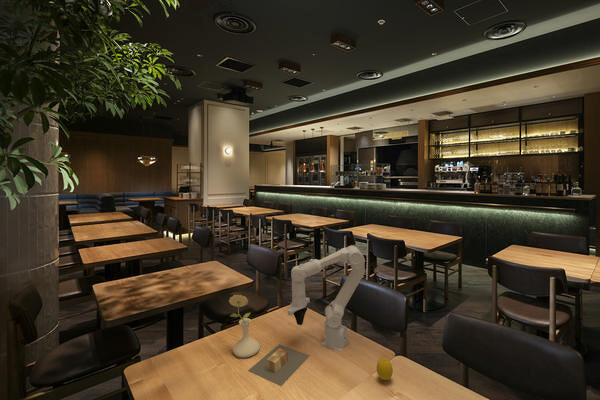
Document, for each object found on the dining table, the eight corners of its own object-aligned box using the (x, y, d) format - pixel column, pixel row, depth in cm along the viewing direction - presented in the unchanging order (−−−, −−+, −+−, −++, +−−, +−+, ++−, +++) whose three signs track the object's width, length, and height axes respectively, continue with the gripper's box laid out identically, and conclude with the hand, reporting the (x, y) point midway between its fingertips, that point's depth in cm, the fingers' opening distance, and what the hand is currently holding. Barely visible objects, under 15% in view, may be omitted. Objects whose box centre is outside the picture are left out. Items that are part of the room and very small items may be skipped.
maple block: (287, 351, 117) (275, 362, 110) (287, 360, 117) (275, 372, 110) (279, 348, 119) (266, 359, 112) (279, 357, 119) (267, 369, 113)
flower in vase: (264, 346, 128) (261, 291, 126) (252, 362, 118) (248, 302, 115) (238, 341, 133) (235, 288, 130) (224, 357, 122) (220, 299, 119)
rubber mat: (310, 356, 120) (310, 355, 120) (281, 387, 103) (281, 386, 103) (279, 345, 129) (279, 344, 129) (247, 371, 112) (247, 370, 112)
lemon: (374, 375, 108) (374, 354, 107) (389, 373, 108) (389, 353, 107) (379, 386, 102) (379, 364, 101) (395, 384, 103) (395, 363, 102)
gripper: (300, 286, 134) (301, 314, 136) (281, 298, 122) (282, 329, 124) (313, 289, 131) (314, 318, 132) (295, 302, 119) (296, 334, 120)
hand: (299, 324), depth 128 cm, fingers closed
